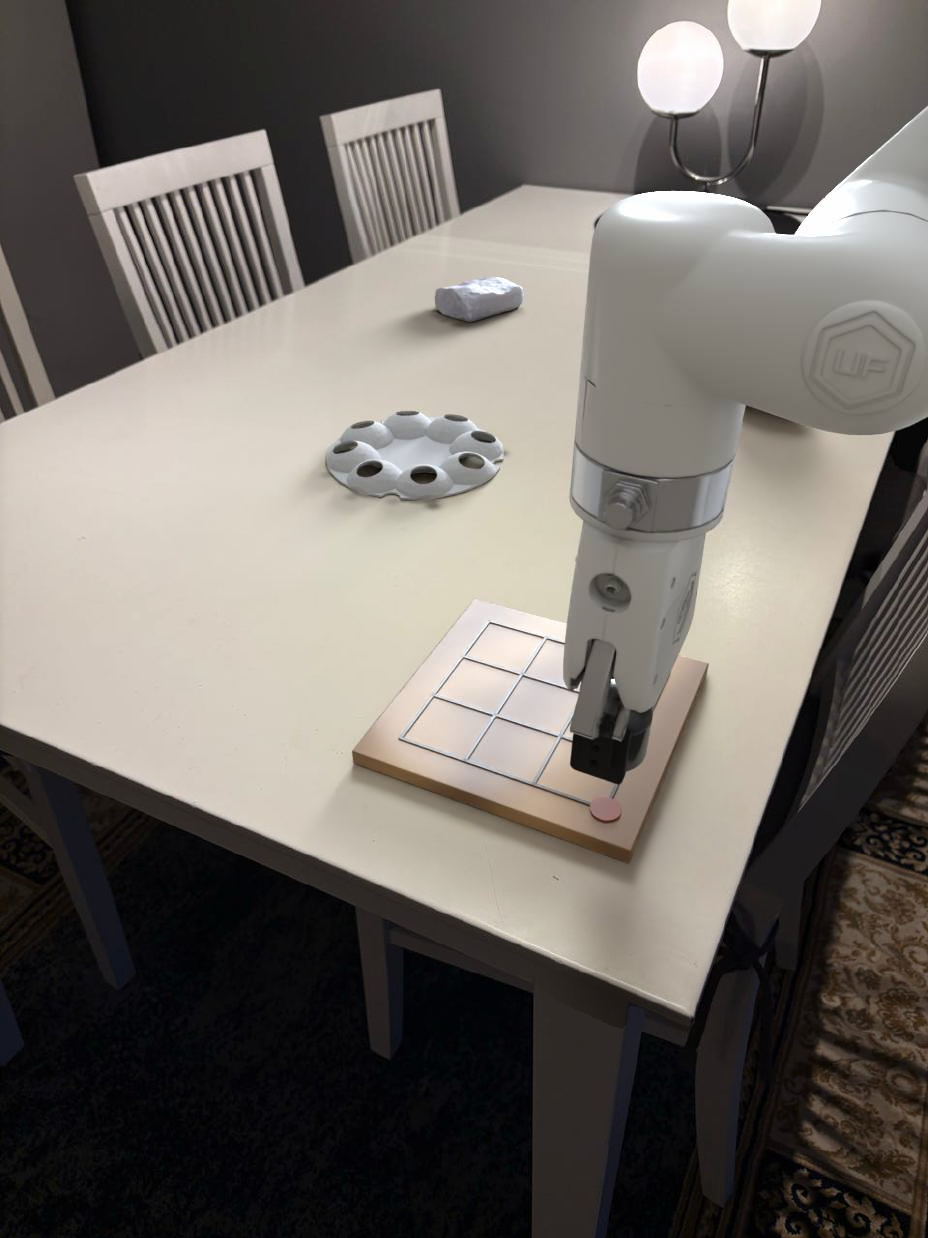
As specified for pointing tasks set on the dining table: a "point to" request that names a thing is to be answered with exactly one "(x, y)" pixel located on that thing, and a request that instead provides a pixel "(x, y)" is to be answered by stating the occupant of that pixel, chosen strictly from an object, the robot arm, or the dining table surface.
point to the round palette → (414, 455)
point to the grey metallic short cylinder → (634, 732)
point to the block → (478, 298)
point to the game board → (520, 732)
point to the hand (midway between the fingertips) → (611, 743)
